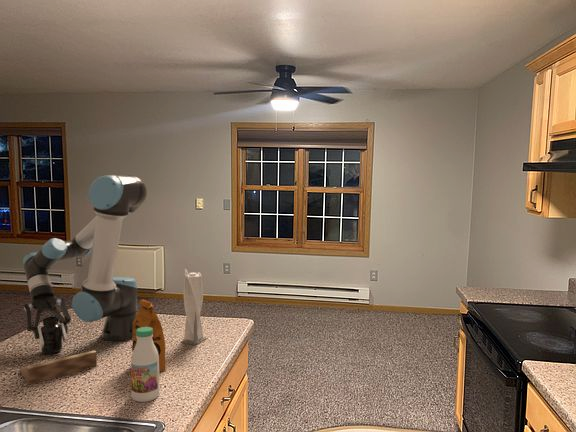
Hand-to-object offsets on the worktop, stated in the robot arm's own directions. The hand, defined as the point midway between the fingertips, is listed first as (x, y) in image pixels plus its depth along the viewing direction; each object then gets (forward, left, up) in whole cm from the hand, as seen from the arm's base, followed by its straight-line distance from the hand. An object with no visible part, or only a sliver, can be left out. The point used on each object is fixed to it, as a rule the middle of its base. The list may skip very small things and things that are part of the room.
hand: (54, 343), depth 157 cm
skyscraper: (-48, -6, -4) cm, 49 cm away
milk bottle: (-35, +37, -4) cm, 51 cm away
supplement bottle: (+2, -3, -4) cm, 5 cm away
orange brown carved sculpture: (-34, +17, -4) cm, 38 cm away
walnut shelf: (-5, +13, -4) cm, 15 cm away
